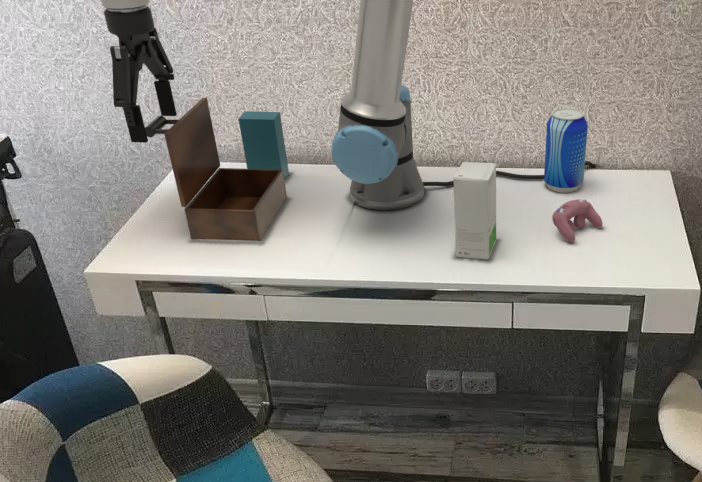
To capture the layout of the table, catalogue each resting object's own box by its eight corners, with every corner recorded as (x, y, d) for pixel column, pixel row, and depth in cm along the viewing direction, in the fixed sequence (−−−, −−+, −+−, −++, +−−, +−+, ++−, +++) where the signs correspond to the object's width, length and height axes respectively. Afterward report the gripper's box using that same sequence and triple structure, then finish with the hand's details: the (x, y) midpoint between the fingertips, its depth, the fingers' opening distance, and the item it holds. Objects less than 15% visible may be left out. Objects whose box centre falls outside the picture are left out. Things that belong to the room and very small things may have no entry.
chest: (287, 199, 164) (282, 169, 160) (260, 243, 148) (254, 211, 144) (225, 197, 164) (219, 167, 161) (191, 241, 149) (184, 209, 145)
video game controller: (588, 229, 157) (578, 195, 155) (606, 226, 153) (596, 191, 151) (556, 245, 151) (545, 210, 149) (573, 243, 147) (562, 207, 146)
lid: (206, 97, 152) (167, 96, 153) (168, 133, 137) (124, 132, 137) (220, 165, 160) (183, 164, 161) (185, 207, 145) (144, 206, 145)
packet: (289, 173, 174) (279, 111, 166) (283, 182, 171) (273, 119, 163) (255, 173, 175) (245, 111, 167) (249, 181, 171) (238, 118, 163)
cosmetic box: (488, 261, 143) (489, 181, 134) (452, 257, 144) (451, 177, 135) (497, 239, 150) (498, 162, 141) (463, 236, 151) (462, 159, 142)
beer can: (556, 174, 174) (561, 103, 165) (590, 184, 170) (596, 111, 161) (536, 187, 169) (539, 114, 160) (570, 197, 165) (575, 123, 156)
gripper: (135, -9, 145) (161, 105, 157) (69, 25, 124) (104, 153, 136) (175, -9, 144) (198, 106, 156) (115, 26, 124) (147, 154, 136)
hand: (155, 128), depth 146 cm, fingers open, 13 cm apart
